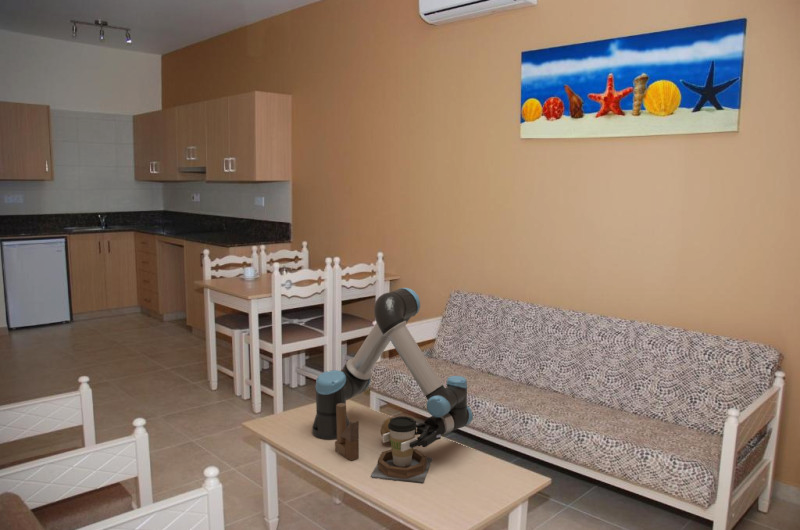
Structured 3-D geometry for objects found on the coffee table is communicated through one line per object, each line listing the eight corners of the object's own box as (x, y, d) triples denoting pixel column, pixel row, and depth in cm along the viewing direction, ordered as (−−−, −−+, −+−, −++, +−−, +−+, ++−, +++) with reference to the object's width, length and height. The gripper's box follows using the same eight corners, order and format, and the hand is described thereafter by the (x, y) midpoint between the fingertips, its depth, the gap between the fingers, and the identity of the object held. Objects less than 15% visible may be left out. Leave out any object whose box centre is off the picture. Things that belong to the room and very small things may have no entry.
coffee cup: (388, 455, 215) (388, 415, 213) (416, 456, 215) (416, 415, 213) (387, 469, 205) (387, 426, 203) (416, 469, 205) (416, 427, 203)
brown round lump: (384, 449, 225) (384, 424, 223) (377, 440, 233) (377, 415, 232) (407, 446, 228) (407, 420, 226) (399, 436, 236) (399, 412, 235)
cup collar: (383, 454, 221) (383, 444, 220) (432, 459, 217) (432, 449, 217) (370, 477, 204) (370, 467, 203) (423, 483, 200) (423, 473, 199)
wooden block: (350, 461, 216) (350, 412, 213) (334, 450, 224) (333, 404, 221) (359, 458, 218) (358, 410, 215) (343, 448, 226) (342, 401, 224)
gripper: (460, 444, 214) (414, 464, 198) (418, 426, 229) (372, 443, 214) (460, 423, 212) (414, 442, 197) (418, 407, 228) (371, 423, 213)
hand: (392, 443), depth 206 cm, fingers closed on coffee cup, 9 cm apart
